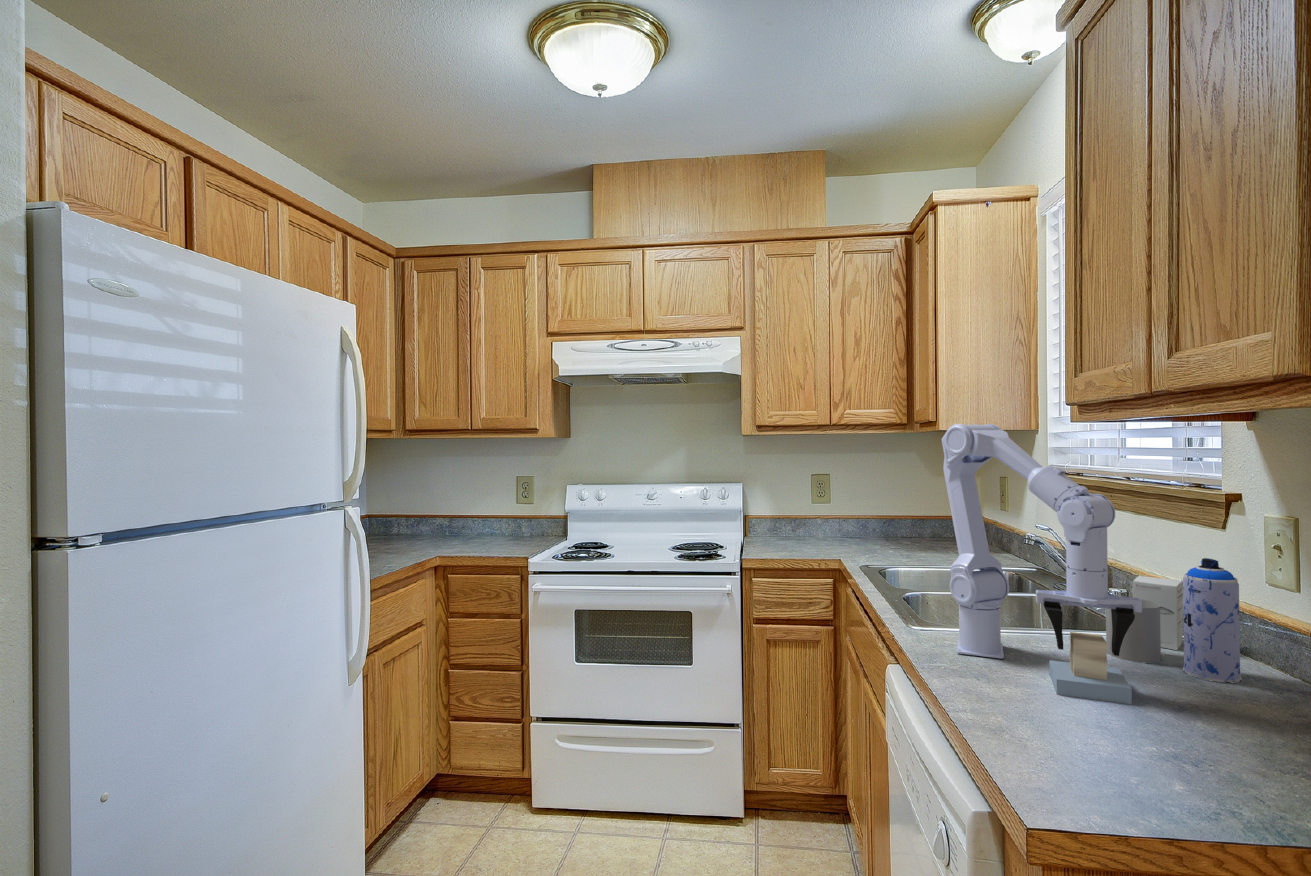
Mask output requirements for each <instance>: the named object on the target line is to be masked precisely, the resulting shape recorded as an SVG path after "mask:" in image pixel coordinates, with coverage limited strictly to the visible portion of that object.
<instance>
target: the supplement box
mask: <svg viewBox="0 0 1311 876" xmlns="http://www.w3.org/2000/svg"><path fill="white" fill-rule="evenodd" d="M1132 597H1133V598H1139V599H1142V600H1147V601H1152V602H1155V603H1157V604H1159V605H1160V635H1161V649H1162V648H1163V649H1169V650H1173V651H1178V650H1179V648H1180V647H1181V646H1182V644H1183V639H1184V618H1183V580H1178V579H1170V578H1169V579H1168V578H1160V577H1153V576H1145V575H1144V576H1143V575H1138V576H1137V577H1135V579H1133V581H1132Z"/></svg>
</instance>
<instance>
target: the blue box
mask: <svg viewBox="0 0 1311 876" xmlns="http://www.w3.org/2000/svg"><path fill="white" fill-rule="evenodd" d="M1048 662H1049V663H1048V669H1049V677H1050V679H1051V680H1050V681H1051V683H1052V685H1053V689H1054V691H1055V694H1056V695H1057V696H1064V697H1071V698H1072V697H1073V698H1078V697H1079V699H1085V698H1086V699H1088V700H1094V701H1103V702H1108V701H1109V702H1111V703H1117V704H1123V705H1124V704H1125V705H1132V704H1133V692H1132V691H1133V689H1132V686H1131V685H1130V683H1129V682H1128V681H1127V680H1126V678H1125V676H1124V675H1123V674H1122V671H1121V670H1120V669H1119V668H1118V667H1111V666H1107V680H1104V679H1095V678H1087V677H1079V676H1074V675H1073V673H1072V670H1071V668H1070V661H1068V662H1067V661H1058V660H1057V661H1056V660H1049V661H1048Z"/></svg>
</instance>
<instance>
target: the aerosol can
mask: <svg viewBox="0 0 1311 876" xmlns="http://www.w3.org/2000/svg"><path fill="white" fill-rule="evenodd" d="M1200 564H1201V565H1197V566H1195V567H1192V568H1190V569H1189V570H1187V572H1186V573H1184V574H1183V578H1182V581H1183V666H1182V672H1183V671H1184V672H1185V674H1186V673H1187V674H1186V675H1188V676H1190V675H1191V677H1192V676H1194V677H1193V678H1195V677H1197V678H1196V679H1199V680H1203V681H1207V680H1212V681H1218V682H1217V683H1219V682H1238V683H1240V682H1239V681H1240V680H1242V679H1243V678H1242V675H1241V645H1240V644H1241V640H1240V639H1241V637H1240V636H1241V635H1240V633H1241V632H1240V631H1241V630H1240V584H1239V582H1238V581H1239V580H1238V578H1237V577H1235V576H1234V575H1233V574H1232V572H1230V571H1229V570H1226V569H1225V568H1224V567H1220V565H1219V560H1216V559H1213V558H1208V557H1207V558H1205V557H1204V558H1201V561H1200ZM1184 672H1183V673H1184ZM1212 681H1211V682H1212ZM1242 681H1243V680H1242Z"/></svg>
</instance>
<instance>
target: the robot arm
mask: <svg viewBox="0 0 1311 876" xmlns="http://www.w3.org/2000/svg"><path fill="white" fill-rule="evenodd" d="M941 445H942V450H943V456H944V459H943V465H942V466H943V475H944V476H943V477H944V480H945V481H944V482H945V485H946V492H947V496H948V501H949V508H950V513H951V518H952V525H953V529H954V534H955V535H954V536H955V542H956V547H957V553H958V557H957V558H956V559H955V560H954V562H952V564H951V565H950V567H949V569H950V581H949V590H950V591H949V592H950V595H951V596H952V598H953V599H954V600H955V602H956V605H958V614H959V615H958V620H959V621H958V622H959V623H958V629H959V630H958V632H959V637H958V638H957V645H956V653H957V654H959V655H960V654H961V655H967V656H968V655H969V656H978V657H986V658H993V659H1001V660H1002V659H1004V658H1005V657H1004V655H1005V654H1004V647H1003V643H1002V639H1001V638H1002V637H1001V636H1002V635H1001V633H1002V631H1001V626H1002V625H1001V606H1004V605H1003V600H1005V599H1006V598H1007V597H1008V595H1009V594H1010V593H1009V592H1010V583H1009V579H1008V577H1007V576H1006V574H1005V573H1004V571H1003V569H1002V568H1003V567H1002V563H1001V562H1000V560H998V559H997V558H996V557H995V556H993V554H992V553H991V552H990V547H989V542H988V538H987V531H986V527H985V522H984V517H983V512H982V505H981V501H980V495H979V491H978V486H977V481H976V473H977V472H978V470H979V469H981V466H983V465H984V464H986V463H987V462H988V461H990V460H991V459H993V458H995V459H996V460H997V461H999V462H1001V463H1002V464H1003V465H1005V466H1006V467H1007V468H1009V469H1011V470H1012V471H1014V472H1015V473H1016V474H1018V475H1019V476H1021V477H1022V478H1024V479H1025V480H1027V482H1028V483H1027V485H1028V490H1029V492H1030V493H1032V494H1033V495H1035V496H1036V497H1037V498H1038V499H1039V500H1040V501H1041V502H1043V503H1044V504H1045V505H1046V506H1048V507H1050V509H1052V510H1053V511H1054V512H1055V513H1056V517H1057V520H1058V521H1059V524H1060V525H1061V526H1062V529H1063V537H1065V548H1066V549H1065V550H1066V552H1065V556H1066V557H1065V558H1066V559H1065V561H1066V563H1065V565H1066V567H1065V570H1066V572H1065V573H1066V577H1065V579H1066V590H1044V589H1035V601H1036V604H1038V605H1039V604H1040V605H1043V607H1044V610H1045V612H1046V614H1047V616H1048V619H1049V620H1050V623H1051V625H1052V628H1053V630H1054V635H1055V639H1056V646H1057V649H1058V650H1062V651H1063V650H1064V638H1063V636H1064V635H1063V611H1062V610H1063V609H1062V608H1063V607H1062V606H1063V605H1064V606H1073V607H1083V608H1084V607H1086V608H1096V609H1105V610H1106V609H1111V614H1112V653H1113V655H1114V656H1119V653H1120V648H1121V645H1122V641H1123V639H1124V636H1125V634H1126V632H1127V630H1128V629H1129V627H1130V625H1131V624H1132V623H1133V621H1134V619H1135V614H1134V613H1133V611H1134V612H1140V613H1142V601H1141V600H1140V599H1139V598H1133V596H1124V595H1116V594H1109V593H1108V592H1109V590H1108V589H1109V586H1108V585H1109V583H1108V582H1109V581H1108V580H1109V579H1108V578H1109V577H1108V576H1109V575H1108V570H1109V569H1108V568H1109V567H1108V566H1109V565H1108V562H1109V561H1108V528H1109V527H1110V526H1111V525H1112V524H1113V523H1114V521H1115V518H1116V509H1115V506H1114V505H1113V502H1111V500H1110V499H1108V498H1107V496H1106V495H1104V494H1100V493H1090V492H1089V489H1088V488H1087V487H1086V486H1085V485H1080V484H1078V483H1077V482H1076V481H1074V480H1073V479H1071V478H1070V477H1069V476H1067V475H1066V470H1065V469H1063V468H1062V467H1055V466H1052V465H1049V466H1042V464H1040V463H1039V462H1038V461H1037V460H1035V459H1034V458H1033V457H1032V456H1031V455H1030V454H1029V453H1028V452H1026V451H1025V450H1024V449H1022V448H1021V447H1020V446H1019V445H1018V444H1017V443H1016V442H1015V441H1013V439H1011V438H1010V436H1009V433H1008V432H1007V431H1006V430H1003V429H1001V427H999V426H998V425H996V424H994V423H985V424H963V423H955V424H953V425H950V426H949V428H948V429H947V430H946V432H945V433H944V435H943V436H942V438H941ZM976 569H977V570H976Z"/></svg>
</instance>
